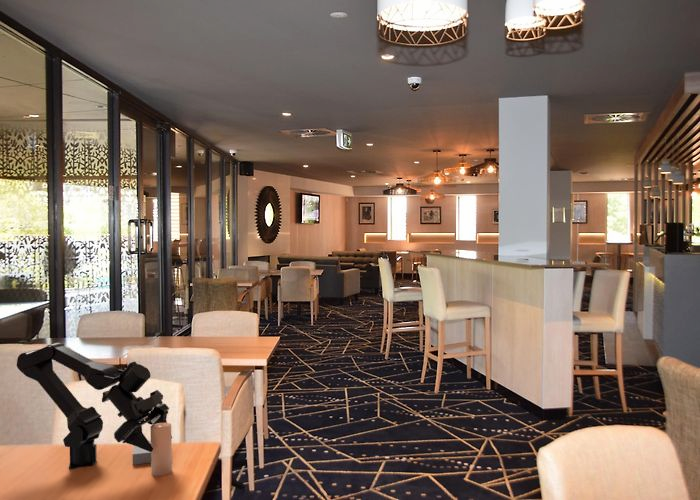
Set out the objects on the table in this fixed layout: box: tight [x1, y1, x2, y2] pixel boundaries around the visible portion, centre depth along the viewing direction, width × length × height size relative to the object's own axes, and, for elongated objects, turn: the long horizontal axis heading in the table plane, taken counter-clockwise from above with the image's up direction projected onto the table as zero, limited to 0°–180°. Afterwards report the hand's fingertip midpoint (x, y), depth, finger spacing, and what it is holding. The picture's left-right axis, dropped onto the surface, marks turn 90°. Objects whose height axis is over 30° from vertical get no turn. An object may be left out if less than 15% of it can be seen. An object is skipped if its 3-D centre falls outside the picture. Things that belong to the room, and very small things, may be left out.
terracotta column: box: [150, 422, 173, 477], centre depth 163 cm, size 6×6×13 cm
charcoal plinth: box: [132, 440, 151, 465], centre depth 175 cm, size 10×10×3 cm
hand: (161, 444), depth 163 cm, fingers open, 9 cm apart
